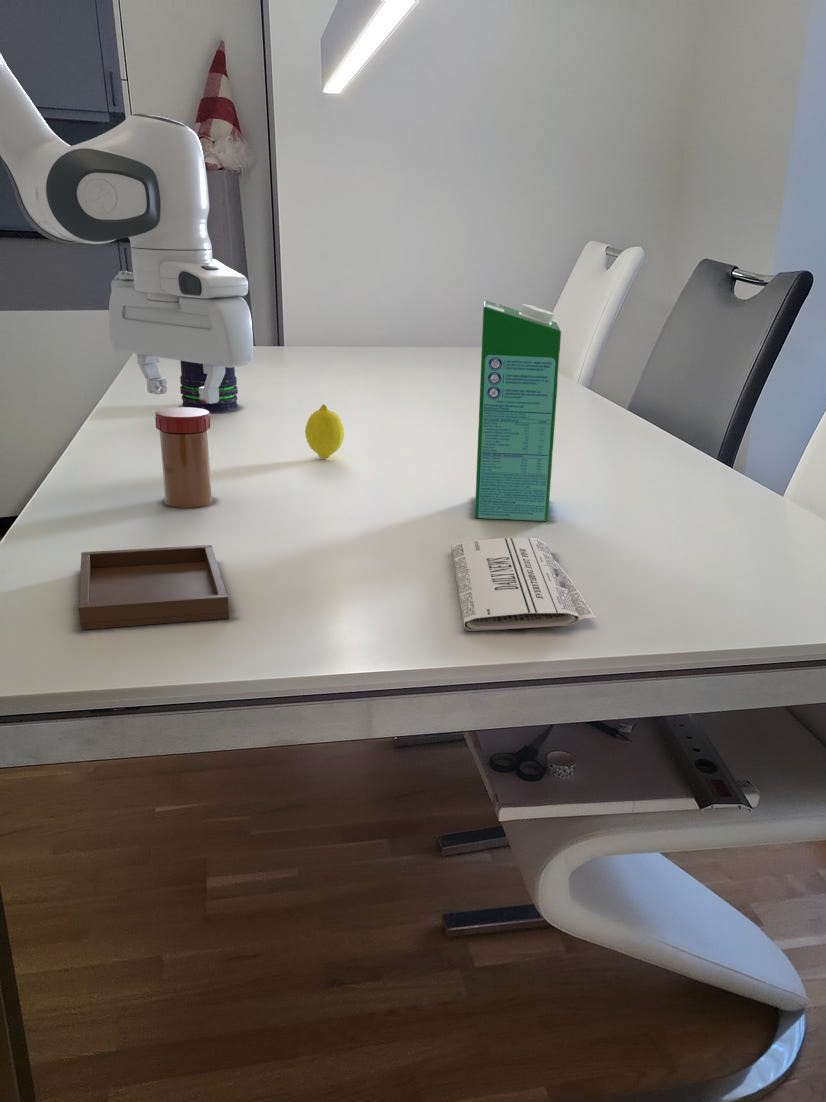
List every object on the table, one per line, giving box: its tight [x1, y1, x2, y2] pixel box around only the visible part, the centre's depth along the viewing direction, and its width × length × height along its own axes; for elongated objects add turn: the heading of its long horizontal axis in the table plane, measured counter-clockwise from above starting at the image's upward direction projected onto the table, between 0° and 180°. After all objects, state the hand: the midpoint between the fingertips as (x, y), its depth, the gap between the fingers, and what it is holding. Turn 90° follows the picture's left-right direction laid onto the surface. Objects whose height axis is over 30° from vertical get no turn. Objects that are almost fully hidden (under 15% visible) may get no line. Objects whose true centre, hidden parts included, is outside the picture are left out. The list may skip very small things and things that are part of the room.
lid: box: [154, 406, 211, 433], centre depth 124 cm, size 6×6×2 cm
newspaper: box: [450, 537, 597, 632], centre depth 104 cm, size 23×12×2 cm, turn 4°
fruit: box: [304, 403, 345, 460], centre depth 151 cm, size 6×6×8 cm
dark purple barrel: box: [179, 360, 239, 414], centre depth 181 cm, size 10×10×15 cm
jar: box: [159, 429, 213, 509], centre depth 126 cm, size 6×6×11 cm
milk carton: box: [474, 299, 562, 522], centre depth 126 cm, size 9×9×25 cm
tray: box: [78, 544, 230, 631], centre depth 98 cm, size 16×13×2 cm
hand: (183, 397), depth 123 cm, fingers open, 7 cm apart
